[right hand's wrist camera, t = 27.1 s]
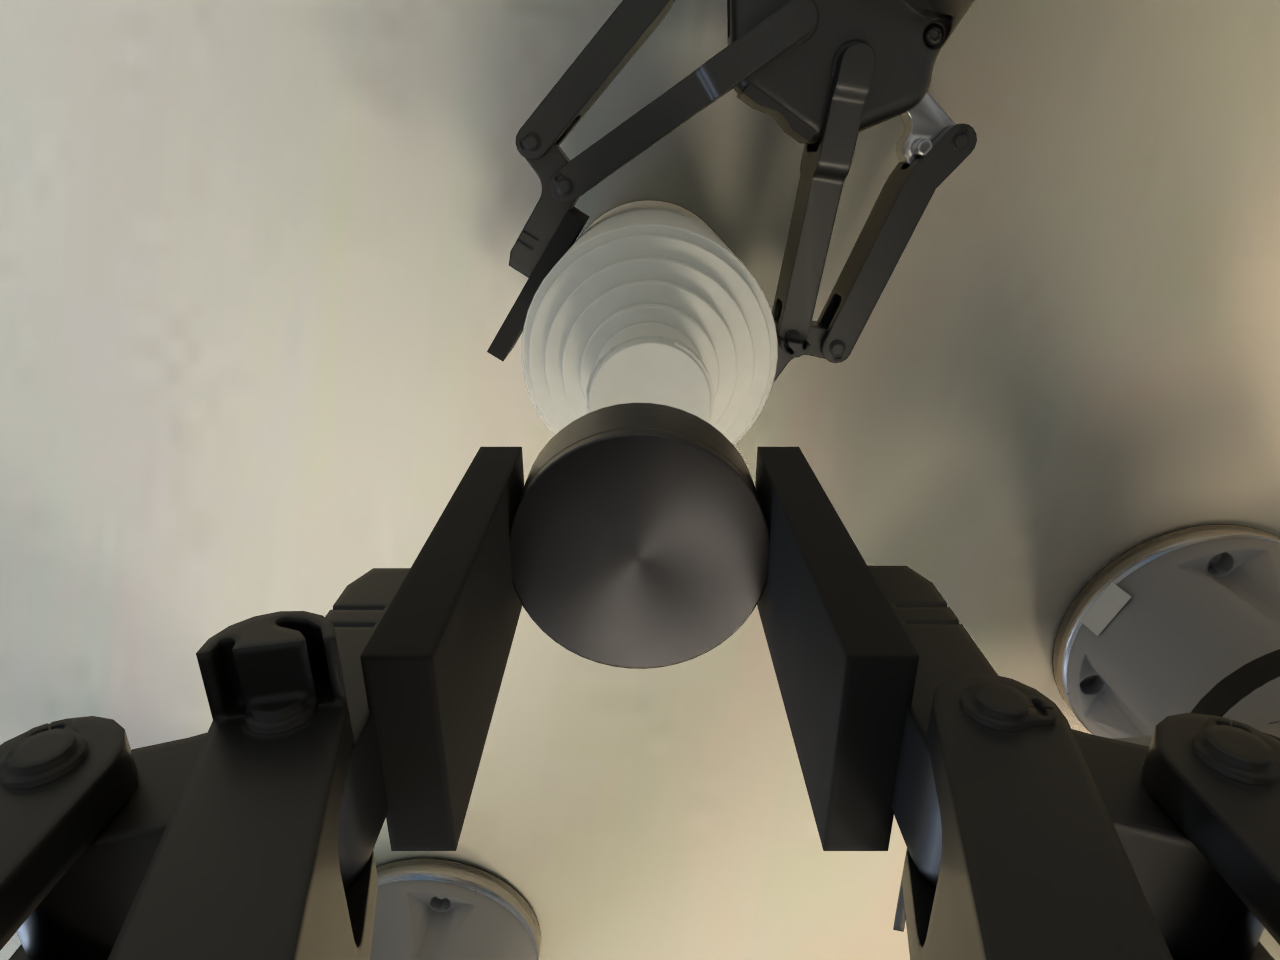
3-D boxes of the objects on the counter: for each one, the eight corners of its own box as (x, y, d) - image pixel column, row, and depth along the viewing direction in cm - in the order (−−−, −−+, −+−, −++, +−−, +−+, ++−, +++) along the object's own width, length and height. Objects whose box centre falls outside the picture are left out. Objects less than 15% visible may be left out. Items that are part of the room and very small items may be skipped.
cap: (721, 370, 13) (733, 399, 12) (781, 581, 15) (798, 632, 13) (487, 442, 14) (466, 478, 12) (568, 639, 15) (560, 695, 14)
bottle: (678, 395, 40) (703, 587, 22) (538, 319, 39) (443, 458, 21) (762, 255, 37) (870, 343, 19) (615, 166, 36) (584, 173, 18)
